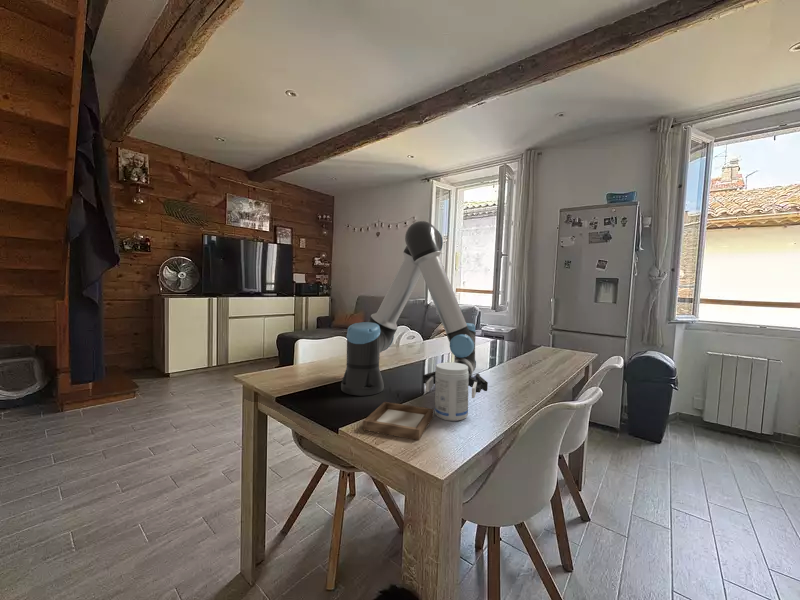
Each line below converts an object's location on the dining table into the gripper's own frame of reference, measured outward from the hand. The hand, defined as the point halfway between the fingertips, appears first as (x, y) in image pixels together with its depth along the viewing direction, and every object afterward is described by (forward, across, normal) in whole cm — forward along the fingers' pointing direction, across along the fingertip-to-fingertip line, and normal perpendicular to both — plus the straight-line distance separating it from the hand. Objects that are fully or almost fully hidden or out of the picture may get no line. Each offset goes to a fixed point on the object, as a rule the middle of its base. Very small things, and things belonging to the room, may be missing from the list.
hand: (449, 390), depth 93 cm
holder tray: (+7, +12, -8) cm, 16 cm away
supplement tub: (-3, 0, -9) cm, 9 cm away
